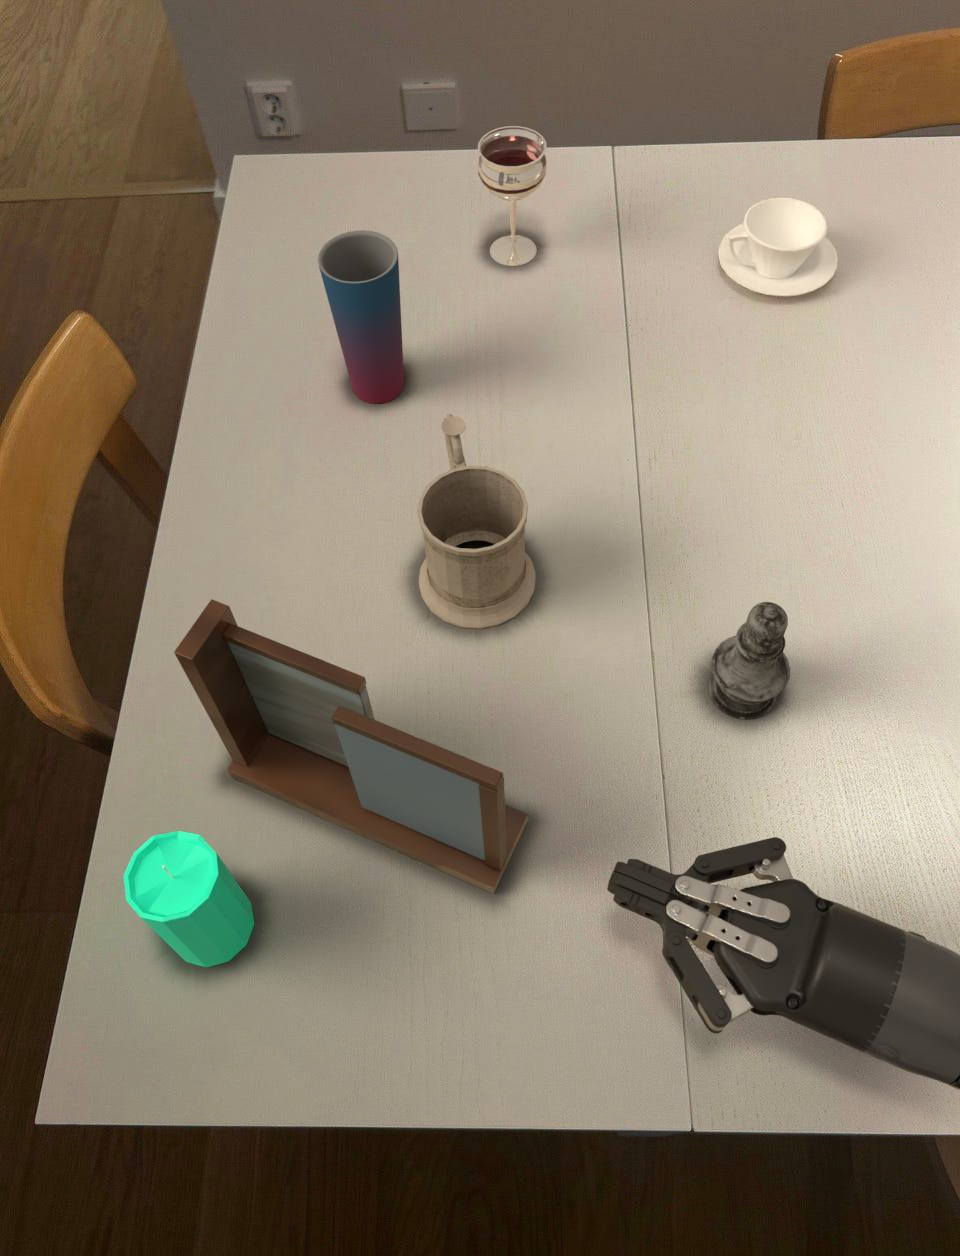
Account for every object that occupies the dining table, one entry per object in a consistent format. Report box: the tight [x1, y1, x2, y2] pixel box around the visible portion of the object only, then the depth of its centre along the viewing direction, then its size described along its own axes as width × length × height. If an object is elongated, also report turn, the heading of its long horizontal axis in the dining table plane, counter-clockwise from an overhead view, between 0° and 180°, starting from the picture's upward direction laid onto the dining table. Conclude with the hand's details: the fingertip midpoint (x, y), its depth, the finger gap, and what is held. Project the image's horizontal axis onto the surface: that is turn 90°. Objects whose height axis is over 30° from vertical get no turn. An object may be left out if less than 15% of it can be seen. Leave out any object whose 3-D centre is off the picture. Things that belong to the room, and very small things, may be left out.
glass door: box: [332, 706, 507, 870], centre depth 70 cm, size 1×11×14 cm, turn 65°
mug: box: [416, 413, 537, 630], centre depth 86 cm, size 14×10×12 cm
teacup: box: [717, 197, 839, 297], centre depth 107 cm, size 12×12×5 cm
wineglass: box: [477, 125, 548, 267], centre depth 107 cm, size 7×7×12 cm
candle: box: [123, 830, 255, 968], centre depth 70 cm, size 6×6×12 cm
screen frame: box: [173, 598, 528, 895], centre depth 72 cm, size 6×22×18 cm, turn 65°
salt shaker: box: [708, 601, 791, 720], centre depth 78 cm, size 6×6×12 cm
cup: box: [317, 229, 405, 405], centre depth 96 cm, size 7×7×15 cm
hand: (612, 875), depth 67 cm, fingers closed
